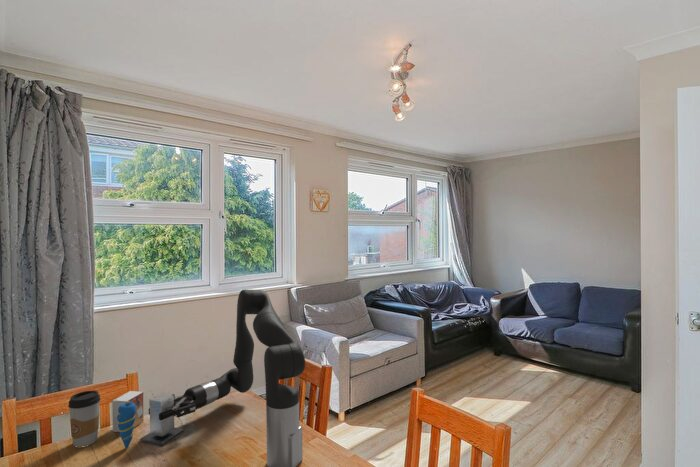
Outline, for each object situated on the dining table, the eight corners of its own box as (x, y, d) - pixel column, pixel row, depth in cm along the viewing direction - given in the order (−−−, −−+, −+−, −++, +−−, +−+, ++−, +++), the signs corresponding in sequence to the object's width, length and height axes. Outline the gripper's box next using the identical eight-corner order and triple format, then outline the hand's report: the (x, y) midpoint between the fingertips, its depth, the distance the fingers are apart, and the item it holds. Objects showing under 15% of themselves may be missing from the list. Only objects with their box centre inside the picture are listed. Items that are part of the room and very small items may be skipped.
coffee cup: (62, 447, 119) (61, 399, 118) (87, 434, 127) (87, 388, 126) (82, 452, 116) (81, 402, 116) (107, 437, 124) (106, 391, 124)
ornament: (119, 445, 120) (118, 397, 120) (138, 441, 122) (137, 394, 121) (116, 454, 115) (115, 404, 115) (135, 450, 117) (134, 401, 116)
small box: (126, 433, 127) (126, 401, 127) (112, 432, 128) (111, 400, 128) (144, 421, 135) (143, 391, 134) (130, 420, 136) (129, 390, 136)
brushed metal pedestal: (174, 429, 126) (173, 395, 126) (161, 436, 121) (160, 401, 121) (163, 426, 128) (162, 393, 128) (150, 433, 123) (149, 399, 123)
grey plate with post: (183, 432, 127) (183, 411, 127) (162, 447, 119) (162, 424, 119) (162, 428, 130) (161, 408, 130) (139, 442, 122) (139, 420, 122)
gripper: (189, 380, 140) (142, 397, 127) (213, 389, 132) (166, 408, 118) (190, 400, 140) (143, 420, 127) (214, 411, 132) (166, 433, 118)
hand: (154, 414), depth 123 cm, fingers closed on brushed metal pedestal, 5 cm apart
